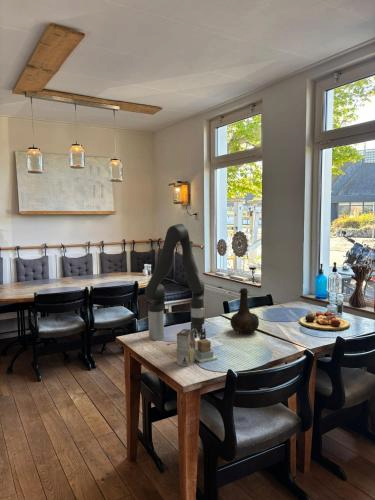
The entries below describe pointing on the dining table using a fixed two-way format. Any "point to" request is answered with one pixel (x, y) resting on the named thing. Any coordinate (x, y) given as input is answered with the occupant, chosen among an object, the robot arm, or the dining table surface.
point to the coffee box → (186, 347)
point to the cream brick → (196, 343)
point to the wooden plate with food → (324, 321)
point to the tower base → (204, 356)
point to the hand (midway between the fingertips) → (198, 343)
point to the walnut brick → (204, 345)
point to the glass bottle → (244, 316)
